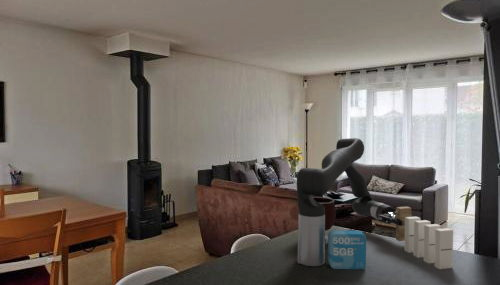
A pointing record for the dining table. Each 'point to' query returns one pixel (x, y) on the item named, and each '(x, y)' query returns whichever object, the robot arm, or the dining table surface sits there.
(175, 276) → the dining table surface
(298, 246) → the robot arm
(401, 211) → the tile
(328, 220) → the mate gourd
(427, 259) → the white domino block
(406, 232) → the tile
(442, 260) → the end tile
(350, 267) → the data package
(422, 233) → the tile
